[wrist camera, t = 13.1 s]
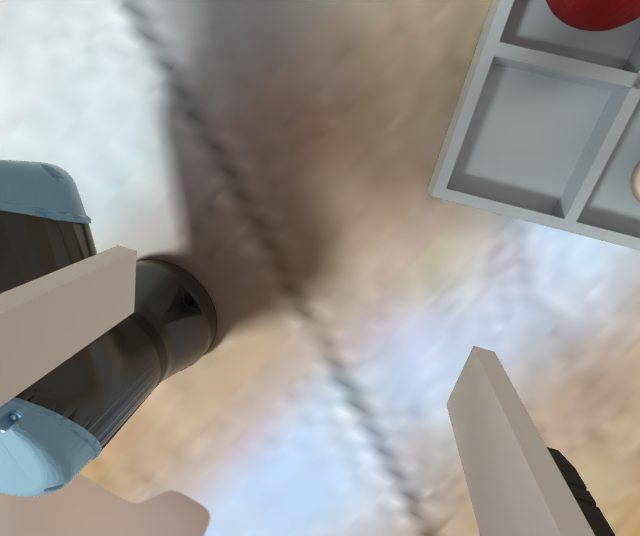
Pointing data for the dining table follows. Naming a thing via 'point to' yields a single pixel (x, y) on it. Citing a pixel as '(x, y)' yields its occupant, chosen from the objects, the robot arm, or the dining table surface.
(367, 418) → the dining table surface
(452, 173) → the tray
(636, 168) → the wooden ball
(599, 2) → the apple
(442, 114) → the dining table surface
